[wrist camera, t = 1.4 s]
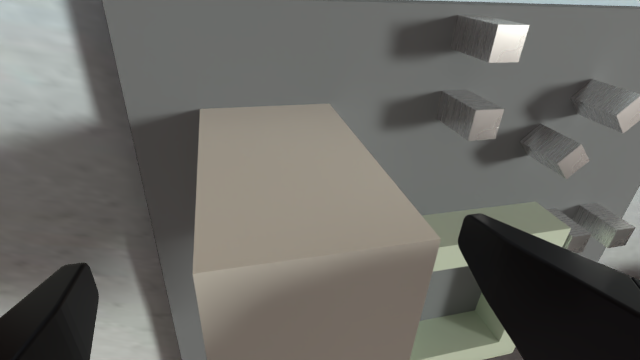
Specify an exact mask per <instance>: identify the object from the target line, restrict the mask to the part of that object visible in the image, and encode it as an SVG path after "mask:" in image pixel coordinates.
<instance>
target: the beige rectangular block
mask: <svg viewBox="0 0 640 360" xmlns="http://www.w3.org/2000/svg"><path fill="white" fill-rule="evenodd" d="M440 241H441V238H440V237H439V236H438V235H437V234H436V232H435V231H434V230H433V229H432V227H431V226H430V225H429V224H428V223H427V221H426V220H425V219H424V218H423V217H422V215H421V214H420V213H419V212H418V211H417V209H416V208H415V207H414V206H413V204H412V203H411V202H410V201H409V200H408V198H407V197H406V196H405V195H404V194H403V192H402V191H401V190H400V189H399V188H398V186H397V185H396V184H395V183H394V181H393V180H392V179H391V178H390V177H389V175H388V174H387V173H386V172H385V171H384V169H383V168H382V167H381V166H380V165H379V163H378V162H377V161H376V160H375V158H374V157H373V156H372V155H371V154H370V152H369V151H368V150H367V149H366V148H365V146H364V145H363V144H362V143H361V141H360V140H359V139H358V138H357V137H356V135H355V134H354V133H353V132H352V131H351V129H350V128H349V127H348V126H347V125H346V123H345V122H344V121H343V120H342V118H341V117H340V116H339V115H338V114H337V112H336V111H335V110H334V109H333V108H332V106H331V105H330V104H307V105H283V106H259V107H234V108H210V109H200V120H199V142H198V164H197V186H196V208H195V230H194V252H193V280H194V286H195V292H196V297H197V303H198V309H199V315H200V321H201V327H202V333H203V339H204V345H205V351H206V357H207V360H410V356H411V353H412V349H413V345H414V341H415V337H416V333H417V330H418V326H419V322H420V318H421V314H422V310H423V306H424V303H425V299H426V295H427V291H428V287H429V283H430V280H431V276H432V272H433V268H434V264H435V260H436V257H437V253H438V249H439V245H440Z"/></svg>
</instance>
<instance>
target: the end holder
mask: <svg viewBox="0 0 640 360" xmlns="http://www.w3.org/2000/svg"><path fill="white" fill-rule="evenodd" d="M477 213H481V214H484V215H487V216H489V217H491V218H494V219H496V220H499V221H501V222H503V223H506V224H508V225H510V226H513V227H515V228H517V229H520V230H522V231H525V232H527V233H529V234H532V235H534V236H536V237H539V238H541V239H544V240H546V241H548V242H551V243H553V244H555V245H558V246H560V247H563V245H564V243H565V240H566V238H567V236H568V234H569V232H570V230H571V228H570V227H569V226H568V225H566V224H565V223H564V222H562V221H561V220H560V219H558V218H557V217H556V216H554V215H553V214H552V213H550V212H549V211H548V210H546V209H545V208H544V207H542V206H541V205H540V204H538V203H537V202H529V203H521V204H512V205H504V206H496V207H488V208H480V209H471V210H463V211H455V212H447V213H439V214H430V215H422V217H423V218H424V219H425V220H426V221H427V223H428V224H429V225H430V226H431V227H432V229H433V230H434V231H435V232H436V234H437V235H438V236H439V237H440V238H441V241H440V245H439V249H438V253H437V257H436V260H435V264H434V268H433V272H434V271H440V270H446V269H452V268H458V267H465V266H468V265H467V263H466V261H465V259H464V257H463V255H462V253H461V251H460V249H459V246H458V237H459V233H460V230H461V226H462V223H463V219H464V218H465V216H467V215H469V214H477ZM515 347H516V346H515V345H514V343H513V342H512V340H511V339H510V337H509V335H508V334H507V332H506V331H505V329H504V328H503V326H502V324H501V323H500V321H499V320H498V318H497V317H496V315H495V314H494V312H493V310H492V309H491V307H490V306H489V304H488V302H487V301H486V299H485V298H484V296H483V294H482V292H481V295H480V298H479V301H478V303H477V306H476V309H475V310H474V311H469V312H464V313H459V314H454V315H448V316H443V317H438V318H433V319H428V320H423V321H420V322H419V326H418V330H417V333H416V337H415V341H414V345H413V349H412V353H411V356H410V360H484V359H489V358H493V357H497V356H501V355H506V354H510V353H513V351H514V349H515Z"/></svg>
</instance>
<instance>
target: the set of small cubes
mask: <svg viewBox="0 0 640 360" xmlns="http://www.w3.org/2000/svg"><path fill="white" fill-rule="evenodd" d="M528 29H529V25H527V24H522V23H517V22H513V21H508V20H504V19H499V18H494V17H490V16H485V15H457V19H456V24H455V28H454V33H453V38H452V43H451V47H450V48H451V49H454V50H456V51H459V52H461V53H464V54H467V55H469V56H472V57H475V58H477V59H480V60H482V61H485V62H488V63H506V62H519V59H520V55H521V52H522V49H523V45H524V42H525V39H526V35H527V32H528ZM570 99H571V102H572V104H573V106H574V108H575V110H576V112H577V114H578V115H581V116H583V117H585V118H588V119H590V120H592V121H595V122H597V123H599V124H602V125H604V126H606V127H609V128H611V129H613V130H616V131H618V132H620V133H625V132H626V131H627V130H628V129H630V128H631V127H632V126H633V125H635V124H636V123H637V122H638V121H640V94H638V93H635V92H632V91H629V90H625V89H622V88H619V87H616V86H613V85H610V84H607V83H604V82H600V81H597V80H594V79H591V80H589V81H588V82H587V83H586V84H585V85H584V86H582V87H581V88H580V89H579V90H578V91H577V92H575V93H574V94H573V95H572V96H571V97H570ZM503 112H504V109H503V108H502V107H500V106H498V105H496V104H494V103H492V102H490V101H488V100H486V99H484V98H482V97H480V96H478V95H476V94H474V93H472V92H471V91H469V90H443V91H441V95H440V100H439V105H438V110H437V114H436V119H438V120H439V121H441V122H442V123H443V124H445V125H446V126H448V127H449V128H450V129H452V130H453V131H455V132H456V133H457V134H459V135H460V136H462V137H463V138H465V139H466V140H467V141H474V140H488V139H495V138H496V135H497V132H498V128H499V125H500V122H501V118H502V115H503ZM519 142H520V143H521V145H522V147H523V148H524V150H525V151H526V153H527V154H528V156H530V157H532V158H533V159H535V160H536V161H538V162H540V163H541V164H543V165H544V166H546V167H548V168H549V169H551V170H552V171H554V172H556V173H557V174H559V175H560V176H562V177H564V178H565V179H568V178H569V177H570V176H571V175H573V174H574V173H575V172H576V171H578V170H579V169H580V168H581V167H582V166H584V165H585V164H586V163H587V162H589V161H590V160H589V158H588V156H587V154H586V152H585V150H584V148H583V146H582V144H580V143H578V142H576V141H574V140H572V139H570V138H568V137H566V136H564V135H562V134H560V133H558V132H556V131H555V130H553V129H551V128H549V127H547V126H545V125H543V124H541V123H539V124H538V125H537V126H535V127H534V128H533V129H532V130H531V131H530V132H528V133H527V134H526V135H525V136H524V137H523V138H521V139H520V140H519ZM546 210H548V211H549V212H550V213H552V214H553V215H554V216H556V217H557V218H558V219H560V220H561V221H562V222H564V223H565V224H566V225H568V226H569V227H570V228H571V230H570V232H569V234H568V236H567V238H566V240H565V243H564V245H563V247H562V248H565V249H567V250H570V251H572V252H574V253H581V252H583V250H584V248H585V246H586V244H587V242H588V240H589V238H590V236H592V237H593V238H595V239H596V240H597V241H599V242H600V243H601V244H603V245H604V246H605V247H607V248H611V247H617V246H623V245H626V243H627V241H628V239H629V238H630V236H631V234H632V232H633V231H634V229H635V227H634V226H632V225H631V224H629V223H628V222H626V221H624V220H623V219H621V218H620V217H618V216H617V215H615V214H613V213H612V212H610V211H609V210H607V209H606V208H604V207H602V206H601V205H599V204H598V203H589V204H581V205H579V207H578V209H577V211H576V213H575V215H574V218H573V220H572V219H570V218H569V217H567V216H566V215H565V214H563V213H562V212H560V211H559V210H558V209H556V208H550V209H546Z"/></svg>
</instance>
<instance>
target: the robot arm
mask: <svg viewBox="0 0 640 360" xmlns="http://www.w3.org/2000/svg"><path fill="white" fill-rule="evenodd" d="M458 246H459V249H460V251H461V253H462V255H463V257H464V259H465V261H466V263H467V265H468V267H469V269H470V271H471V273H472V275H473V277H474V279H475V281H476V282H477V284H478V286H479V288H480V290H481V292H482V294H483V296H484V298H485V299H486V301H487V302H488V304H489V306H490V307H491V309H492V310H493V312H494V314H495V315H496V317H497V318H498V320H499V321H500V323H501V324H502V326H503V328H504V329H505V331H506V332H507V334H508V335H509V337H510V339H511V340H512V342H513V343H514V345H515V346H516V348H517V349H518V351H519V353H520V354H521V356H522V357H523V359H524V360H640V280H638V279H636V278H633V277H632V278H631V277H630V276H629V275H626V274H624V273H622V272H619V271H617V270H615V269H612V268H610V267H607V266H605V265H603V264H600V263H598V262H596V261H593V260H591V259H589V258H586V257H584V256H581V255H579V254H577V253H574V252H572V251H570V250H567V249H565V248H562V247H560V246H558V245H555V244H553V243H551V242H548V241H546V240H544V239H541V238H539V237H536V236H534V235H532V234H529V233H527V232H525V231H522V230H520V229H517V228H515V227H513V226H510V225H508V224H506V223H503V222H501V221H499V220H496V219H494V218H491V217H489V216H487V215H484V214H481V213H477V214H469V215H467V216H465V218H464V219H463V223H462V226H461V230H460V233H459V237H458ZM98 299H99V296H98V290H97V287H96V284H95V281H94V278H93V275H92V273H91V270H90V267H89V266H88V264H86V263H76V264H68V265H64V266H63V267H61V268H60V269H59V270H57V271H56V272H55V273H54V274H53V275H51V276H50V277H49V278H48V279H47V280H45V281H44V282H43V283H42V284H41V285H39V286H38V287H37V288H36V289H34V290H33V291H32V292H31V293H30V294H28V295H27V296H26V297H25V298H24V299H22V300H21V301H20V302H19V303H18V304H16V305H15V306H14V307H13V308H11V309H10V310H9V311H8V312H7V313H5V314H4V315H3V316H2V317H1V318H0V360H90V354H91V348H92V341H93V334H94V327H95V321H96V314H97V307H98Z"/></svg>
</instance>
